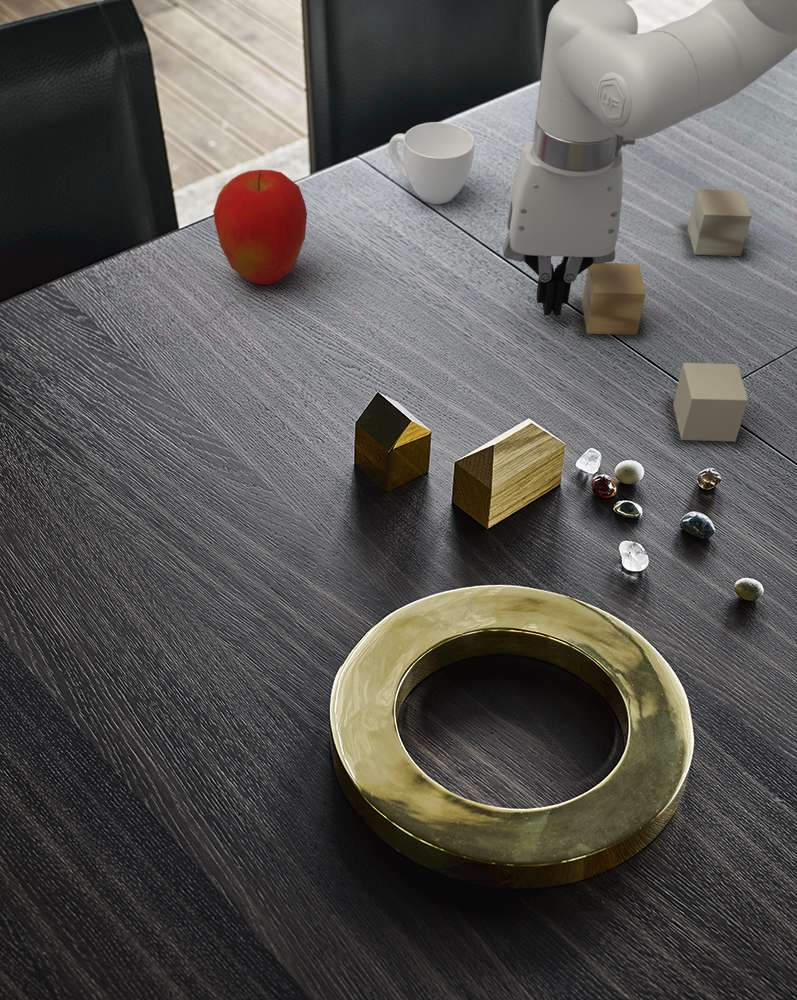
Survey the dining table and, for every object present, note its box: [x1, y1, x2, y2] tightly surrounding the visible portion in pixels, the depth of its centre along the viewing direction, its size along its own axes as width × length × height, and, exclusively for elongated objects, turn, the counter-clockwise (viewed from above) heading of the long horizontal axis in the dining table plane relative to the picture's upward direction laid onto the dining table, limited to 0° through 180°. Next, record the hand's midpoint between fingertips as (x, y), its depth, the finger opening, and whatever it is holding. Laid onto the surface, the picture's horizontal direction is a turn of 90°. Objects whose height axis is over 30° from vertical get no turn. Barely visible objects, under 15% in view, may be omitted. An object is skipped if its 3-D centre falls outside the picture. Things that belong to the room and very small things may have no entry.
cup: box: [387, 121, 476, 205], centre depth 139 cm, size 8×10×7 cm
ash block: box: [687, 188, 752, 257], centre depth 134 cm, size 5×5×5 cm
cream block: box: [672, 362, 749, 443], centre depth 113 cm, size 5×5×5 cm
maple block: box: [581, 262, 646, 336], centre depth 124 cm, size 5×5×5 cm
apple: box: [213, 169, 308, 286], centre depth 125 cm, size 9×9×12 cm
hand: (550, 307), depth 125 cm, fingers closed
